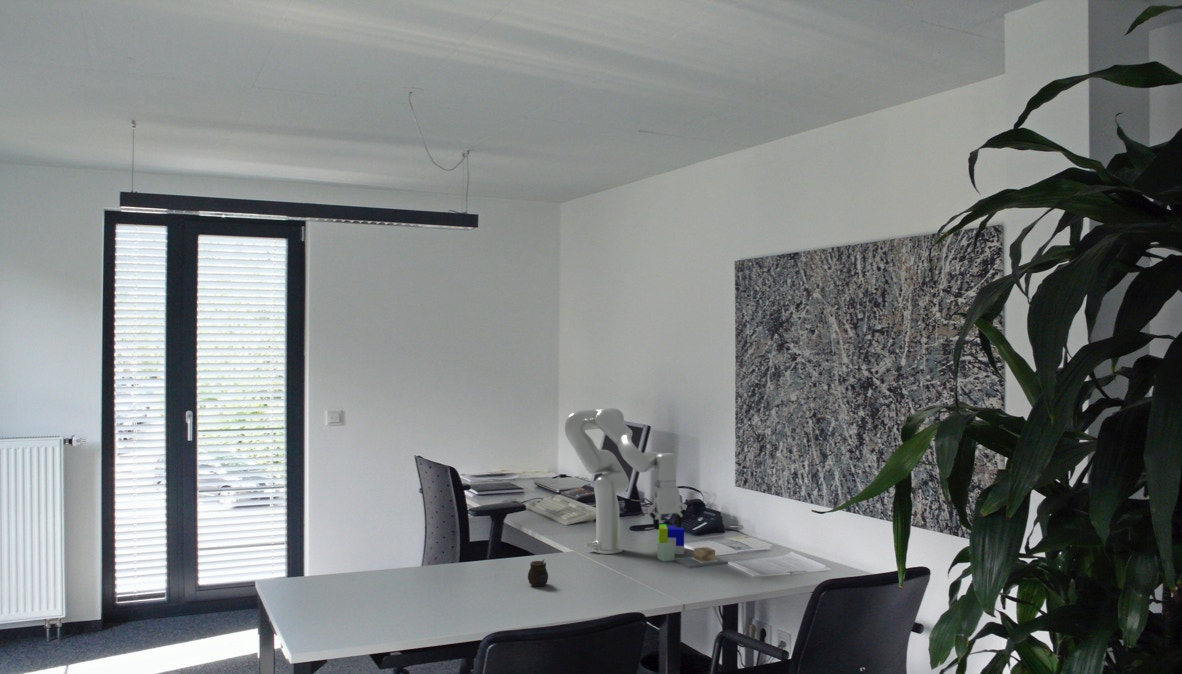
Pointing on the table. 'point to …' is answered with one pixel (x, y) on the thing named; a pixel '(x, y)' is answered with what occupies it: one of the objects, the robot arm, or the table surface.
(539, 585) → the mate gourd
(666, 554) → the sage block
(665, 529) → the puzzle toy
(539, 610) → the table surface
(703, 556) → the oak base block
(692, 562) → the felt mat
